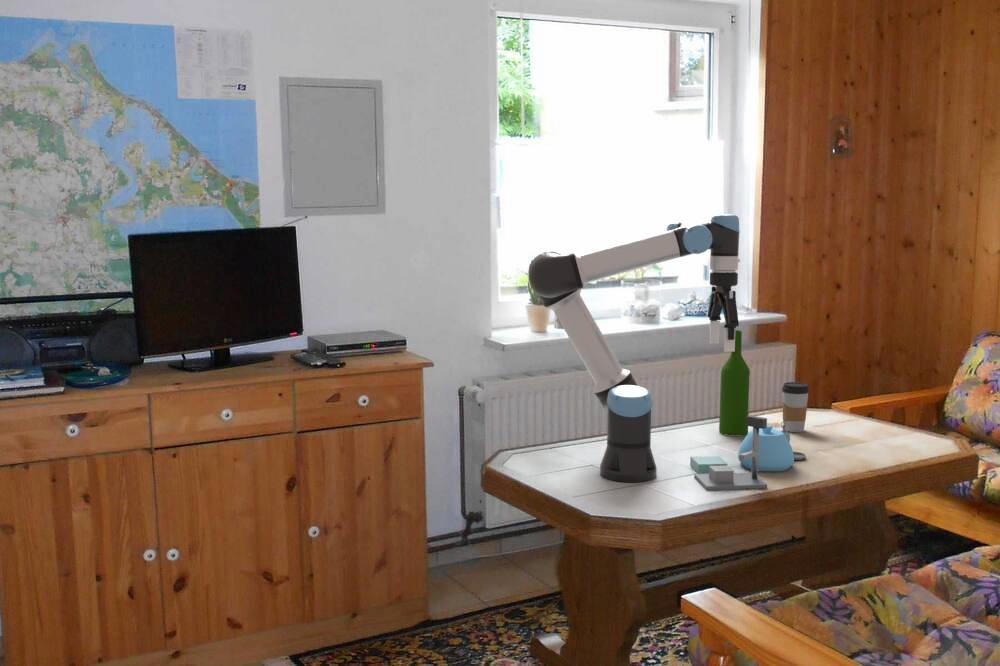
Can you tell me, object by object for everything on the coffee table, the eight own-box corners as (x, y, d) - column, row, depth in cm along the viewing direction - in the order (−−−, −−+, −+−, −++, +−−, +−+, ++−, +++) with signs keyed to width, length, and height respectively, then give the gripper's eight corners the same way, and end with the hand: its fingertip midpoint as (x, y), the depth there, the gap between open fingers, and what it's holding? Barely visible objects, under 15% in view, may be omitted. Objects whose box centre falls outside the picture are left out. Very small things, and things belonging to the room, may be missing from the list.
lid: (698, 475, 266) (698, 464, 265) (690, 466, 274) (690, 456, 273) (727, 474, 266) (727, 463, 266) (718, 466, 274) (718, 455, 274)
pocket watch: (806, 461, 277) (808, 427, 276) (776, 460, 279) (777, 425, 278) (803, 454, 285) (805, 420, 284) (773, 452, 287) (775, 419, 285)
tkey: (749, 484, 252) (751, 422, 249) (732, 480, 255) (734, 419, 253) (764, 479, 257) (766, 418, 254) (748, 475, 260) (750, 415, 258)
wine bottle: (753, 435, 307) (757, 332, 302) (726, 437, 305) (730, 333, 300) (739, 428, 316) (743, 328, 311) (714, 430, 314) (717, 329, 309)
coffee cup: (810, 433, 309) (812, 387, 307) (784, 433, 309) (786, 386, 307) (802, 427, 317) (804, 381, 315) (777, 427, 317) (778, 381, 315)
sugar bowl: (731, 459, 280) (732, 419, 279) (782, 458, 281) (784, 418, 280) (747, 474, 266) (748, 432, 264) (801, 473, 267) (803, 431, 265)
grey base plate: (706, 490, 251) (706, 475, 251) (694, 477, 262) (694, 463, 262) (767, 488, 253) (767, 473, 252) (752, 476, 264) (753, 461, 263)
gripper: (752, 274, 257) (749, 354, 261) (723, 267, 282) (721, 340, 285) (724, 275, 257) (722, 355, 260) (697, 267, 281) (695, 340, 285)
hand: (721, 347), depth 273 cm, fingers open, 13 cm apart
